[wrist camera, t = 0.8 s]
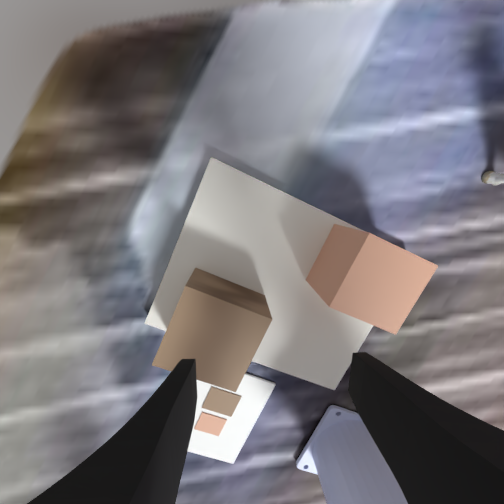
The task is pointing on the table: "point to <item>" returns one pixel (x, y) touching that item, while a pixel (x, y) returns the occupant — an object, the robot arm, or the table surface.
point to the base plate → (264, 271)
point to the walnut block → (215, 329)
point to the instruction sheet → (227, 417)
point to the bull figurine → (493, 178)
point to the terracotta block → (369, 277)
